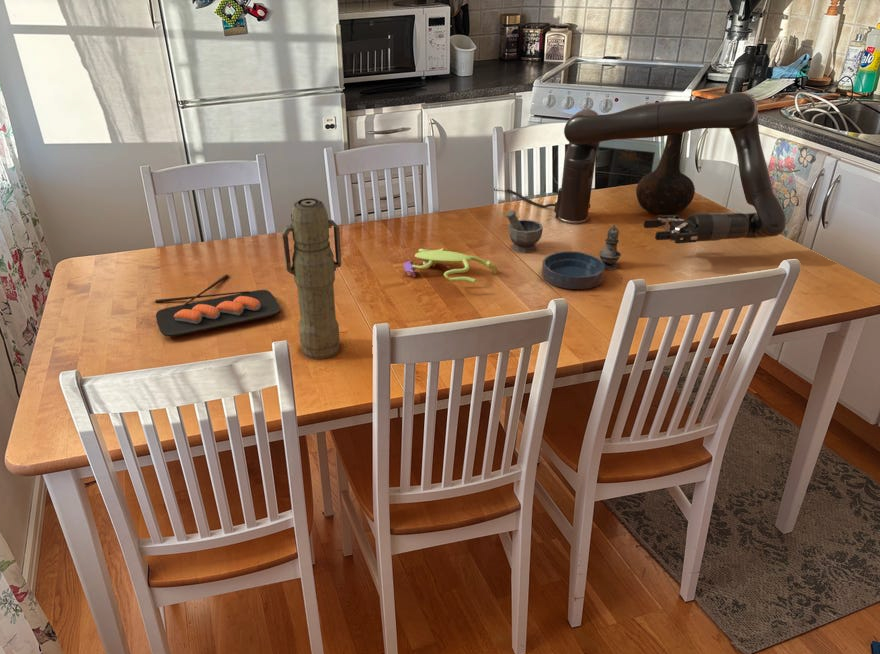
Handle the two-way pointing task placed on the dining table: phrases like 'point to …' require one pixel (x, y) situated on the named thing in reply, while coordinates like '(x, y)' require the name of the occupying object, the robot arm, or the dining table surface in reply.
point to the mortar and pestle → (523, 232)
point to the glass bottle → (666, 183)
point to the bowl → (573, 270)
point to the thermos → (314, 276)
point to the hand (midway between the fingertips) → (650, 229)
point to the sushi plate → (215, 311)
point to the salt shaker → (611, 249)
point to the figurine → (445, 257)
